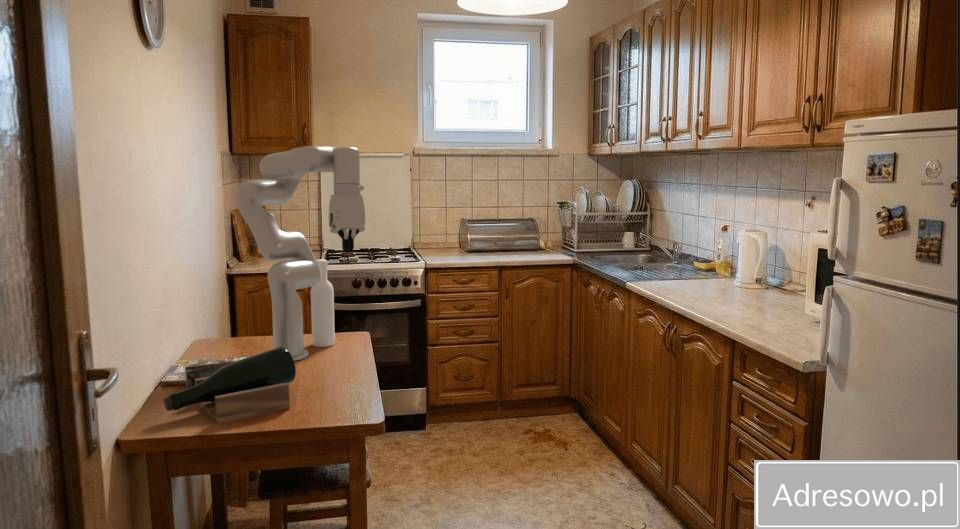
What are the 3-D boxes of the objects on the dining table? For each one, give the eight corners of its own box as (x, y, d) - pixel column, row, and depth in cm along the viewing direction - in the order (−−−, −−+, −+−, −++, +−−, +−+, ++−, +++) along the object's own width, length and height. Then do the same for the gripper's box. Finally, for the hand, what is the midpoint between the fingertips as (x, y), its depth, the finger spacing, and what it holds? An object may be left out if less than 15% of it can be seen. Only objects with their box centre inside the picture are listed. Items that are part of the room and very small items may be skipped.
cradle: (195, 402, 181) (194, 379, 181) (262, 389, 192) (261, 367, 191) (218, 424, 167) (217, 398, 166) (289, 408, 178) (288, 384, 177)
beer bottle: (276, 365, 195) (156, 405, 173) (280, 338, 189) (157, 375, 167) (294, 389, 189) (173, 434, 167) (299, 362, 184) (174, 404, 162)
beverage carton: (185, 386, 195) (184, 364, 194) (255, 378, 204) (254, 356, 203) (187, 395, 188) (185, 371, 187) (259, 385, 197) (258, 363, 196)
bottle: (329, 348, 237) (327, 261, 232) (308, 346, 238) (305, 261, 234) (338, 342, 244) (336, 258, 240) (318, 340, 246) (315, 258, 242)
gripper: (363, 189, 208) (364, 249, 211) (317, 189, 199) (319, 252, 201) (375, 189, 202) (376, 251, 205) (329, 190, 193) (330, 255, 196)
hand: (348, 251), depth 203 cm, fingers closed
